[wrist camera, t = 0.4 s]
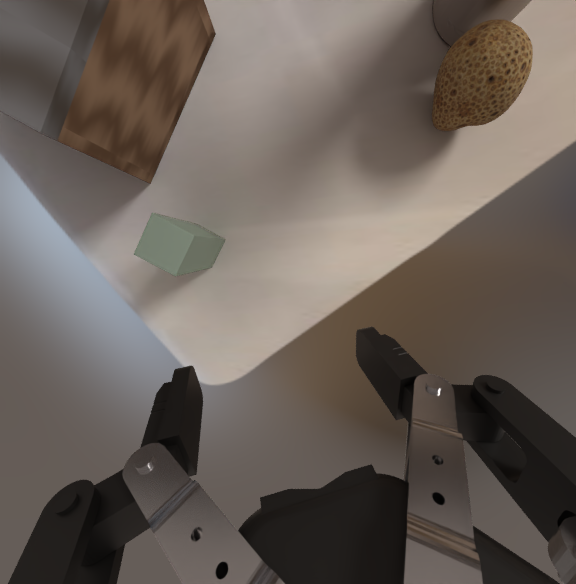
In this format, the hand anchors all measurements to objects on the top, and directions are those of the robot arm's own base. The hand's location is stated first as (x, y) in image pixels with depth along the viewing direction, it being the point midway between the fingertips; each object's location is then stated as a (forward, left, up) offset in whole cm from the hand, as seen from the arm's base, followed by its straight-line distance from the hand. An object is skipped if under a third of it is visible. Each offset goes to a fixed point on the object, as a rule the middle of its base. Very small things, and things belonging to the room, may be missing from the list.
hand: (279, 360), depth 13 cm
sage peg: (+1, -13, -25) cm, 28 cm away
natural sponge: (-30, +7, -26) cm, 40 cm away
